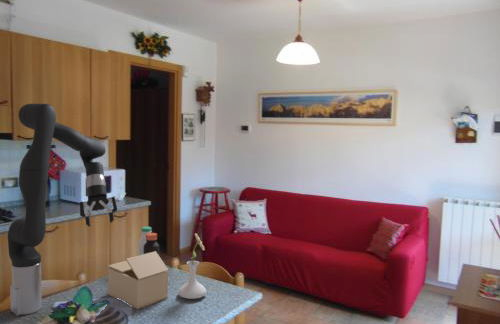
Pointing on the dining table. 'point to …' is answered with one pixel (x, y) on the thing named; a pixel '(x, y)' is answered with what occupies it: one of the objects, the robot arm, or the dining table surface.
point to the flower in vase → (193, 279)
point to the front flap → (146, 265)
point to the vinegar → (151, 243)
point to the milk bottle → (143, 240)
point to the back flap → (121, 267)
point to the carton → (137, 288)
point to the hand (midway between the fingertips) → (100, 224)
